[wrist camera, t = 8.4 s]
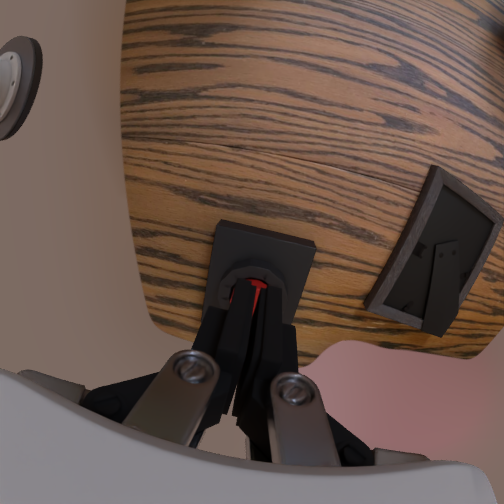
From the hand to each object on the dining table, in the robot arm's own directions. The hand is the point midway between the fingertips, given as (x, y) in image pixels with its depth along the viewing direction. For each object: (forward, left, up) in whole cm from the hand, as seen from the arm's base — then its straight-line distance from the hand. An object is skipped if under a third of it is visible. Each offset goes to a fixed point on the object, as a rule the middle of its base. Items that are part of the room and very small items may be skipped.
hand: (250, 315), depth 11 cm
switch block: (0, -8, -19) cm, 21 cm away
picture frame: (+21, 0, -19) cm, 29 cm away
